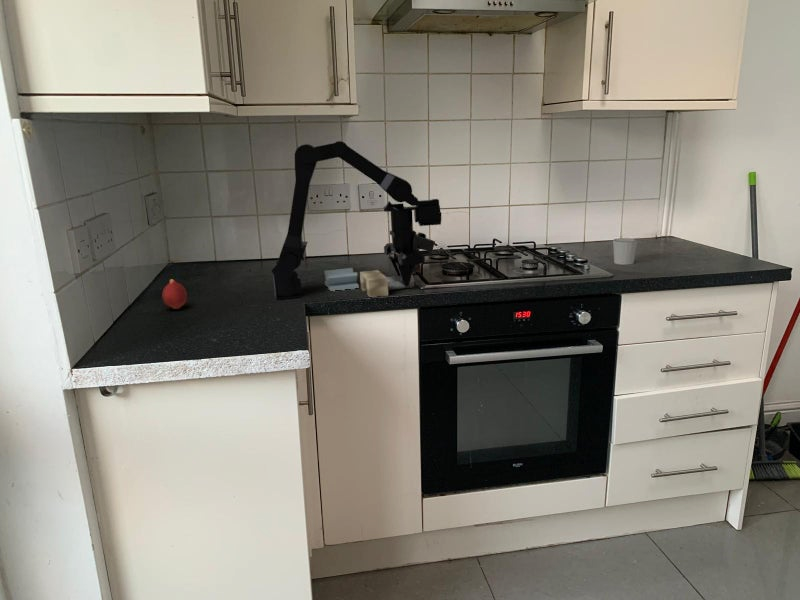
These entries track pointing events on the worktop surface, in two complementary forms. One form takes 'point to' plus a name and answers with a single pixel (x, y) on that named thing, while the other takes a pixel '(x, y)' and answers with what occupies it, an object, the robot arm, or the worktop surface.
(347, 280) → the v block
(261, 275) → the worktop surface
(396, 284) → the axle
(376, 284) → the beam
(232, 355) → the worktop surface
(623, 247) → the grey cup
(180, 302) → the onion
